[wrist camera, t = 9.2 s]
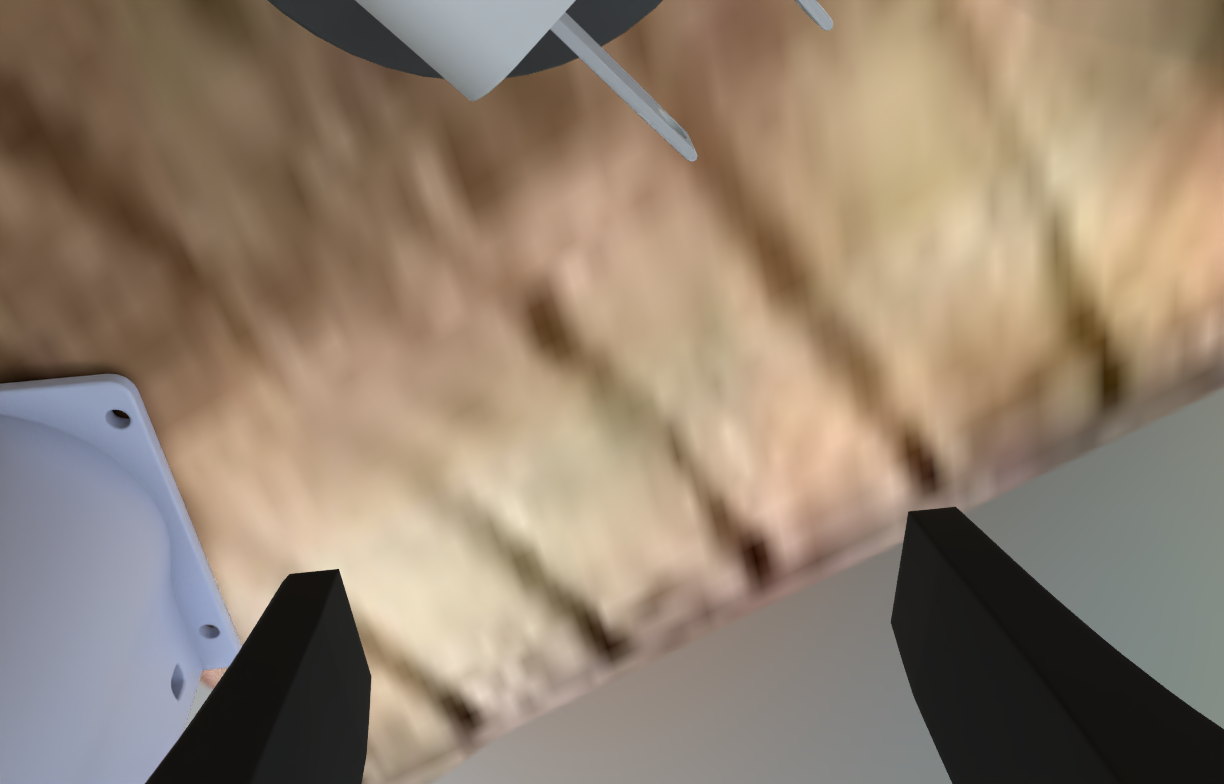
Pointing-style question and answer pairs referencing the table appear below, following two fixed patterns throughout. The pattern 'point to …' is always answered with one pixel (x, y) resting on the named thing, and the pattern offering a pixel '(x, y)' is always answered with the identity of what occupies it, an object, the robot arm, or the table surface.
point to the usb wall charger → (520, 47)
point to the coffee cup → (333, 15)
